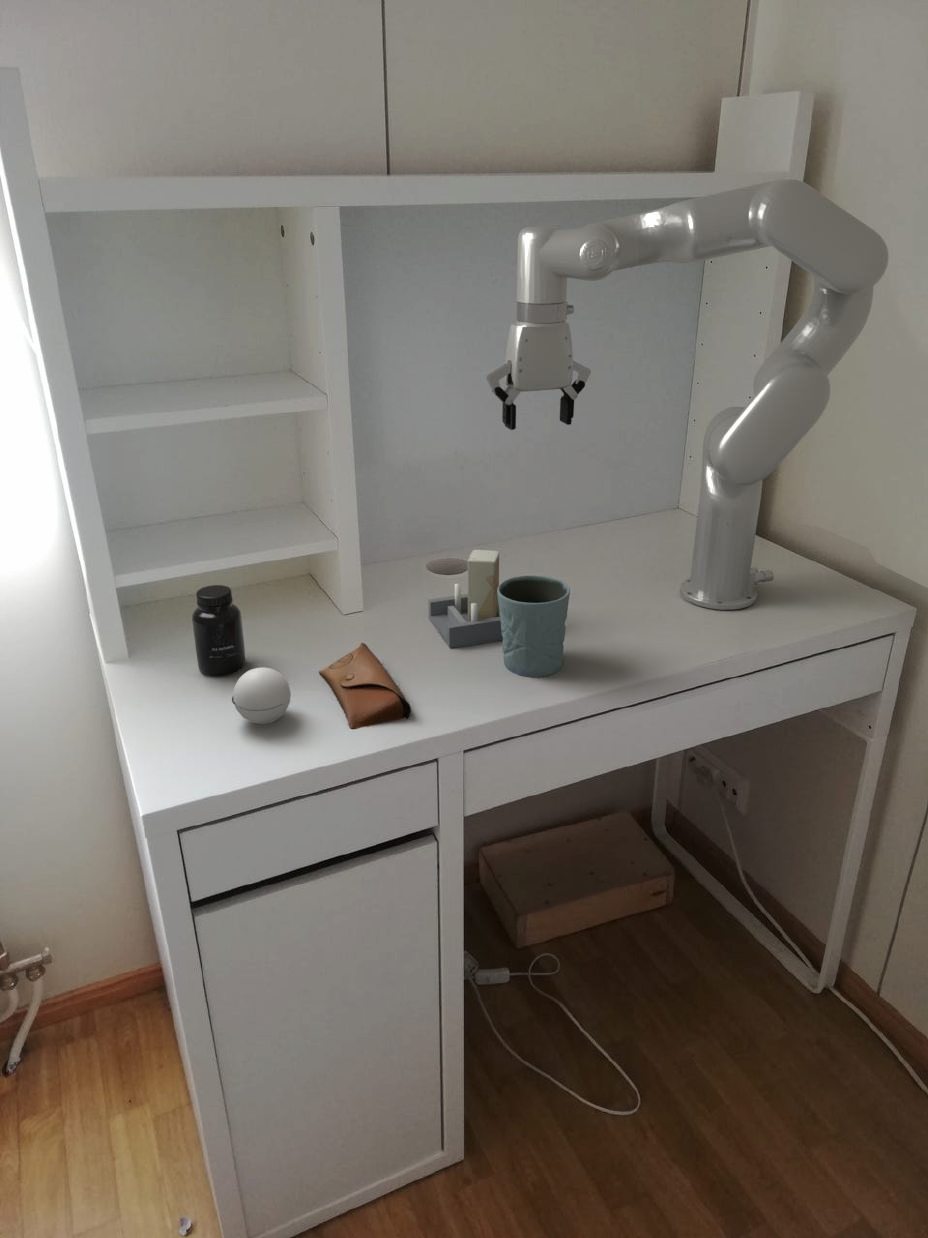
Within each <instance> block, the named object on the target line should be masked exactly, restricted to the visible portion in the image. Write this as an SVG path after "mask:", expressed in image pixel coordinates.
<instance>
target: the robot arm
mask: <svg viewBox="0 0 928 1238" xmlns="http://www.w3.org/2000/svg"><path fill="white" fill-rule="evenodd" d="M768 247H773V248H774V249H775V250H776V251H778V252H779V253H781V254H782V255H783V256H785V257H786V258H787V259H789V260H790V261H792V262H793V263H795V264H796V265H797V266H799V268H801V269H803V270H805V271H806V272H808V273H809V274H811V276H812V278H813V283H814V286H813V293H812V297H811V300H810V302H809V304H808V306H807V308H806V310H805V311H804V312H803V314H802V315H801V316H800V317H799V319H798V321H797V322H796V323H795V325H794V326H793V328H791V330H790V331H789V332H788V333H787V335H786V336H784V338H783V340H782V341H781V342H780V343H779V344H778V345H777V347H776V348H775V349H774V351H772V352H771V353H770V354H769V356H768V357H767V358H766V359H765V360H764V361H763V363H762V364H761V365H760V366H759V367H758V369H757V371H756V372H755V375H754V378H753V384H752V387H753V388H752V389H753V393H754V396H753V397H752V398H751V399H750V401H749V402H748V403H747V404H746V406H745V407H744V406H731V407H727V408H724V409H723V410H720V411H719V412H717V414H715V415H714V416H713V417H712V419H711V420H709V423H708V425H707V426H706V429H705V432H704V436H703V443H702V444H703V445H702V457H701V459H702V461H701V480H700V489H699V498H698V499H699V500H698V505H697V515H696V516H697V517H696V526H695V535H694V543H693V553H692V560H691V571H690V577H689V578H686V579H684V580H683V581H682V582H681V583H680V585H679V593H680V595H681V597H682V598H683V599H684V600H686V601H687V602H689V603H691V604H694V605H696V606H699V607H701V608H707V609H712V610H721V611H722V610H723V611H728V610H729V611H731V610H733V611H734V610H739V609H744V608H747V607H750V606H752V605H753V604H754V603H756V600H757V596H758V595H757V593H758V592H757V590H756V588H755V586H756V585H758V584H759V583H767V582H772V581H773V580H774V578H775V574H774V573H775V572H773V570H771V569H766V570H760V571H759V569H758V568H757V567H752V560H753V555H754V546H755V541H756V532H757V527H758V526H757V525H758V518H759V511H760V507H761V506H760V505H761V499H762V489H763V480H765V479H766V478H767V477H768V476H769V475H770V474H771V473H772V472H774V470H775V469H777V468H778V466H780V464H782V462H783V461H784V459H786V458H787V456H788V455H790V453H791V452H792V451H793V449H794V448H796V447H797V445H798V444H799V443H800V442H801V441H802V439H803V438H804V437H806V435H807V434H808V432H810V431H811V429H812V428H813V427H814V426H815V425H816V423H817V422H818V421H819V419H821V418H820V417H821V416H823V413H824V412H825V409H826V408H827V405H828V403H829V400H830V395H831V383H830V379H829V375H830V374H831V372H832V371H833V370H834V369H835V367H836V366H837V365H838V364H839V362H840V361H841V360H842V358H843V357H844V356H845V355H846V353H847V352H848V351H849V350H850V348H851V347H852V345H853V344H854V343H855V341H856V340H857V339H858V338H859V336H860V334H861V333H862V331H863V329H864V328H865V326H866V324H867V321H868V318H869V316H870V312H871V309H872V304H873V297H874V289H875V288H874V287H875V285H877V283H879V281H881V279H882V278H883V276H884V275H885V273H886V270H887V267H888V264H889V249H888V246H887V244H886V241H885V240H884V239H883V237H882V236H881V234H879V233H878V232H877V231H875V229H873V228H872V227H870V226H868V225H867V224H866V223H864V222H862V221H861V220H859V219H858V218H856V217H855V216H854V215H852V214H851V213H849V212H848V211H846V210H845V209H843V208H842V207H840V206H839V205H838V204H836V203H835V202H834V201H832V200H830V199H829V198H828V197H826V196H825V195H823V194H822V193H821V192H819V191H818V190H817V189H815V188H814V187H813V186H811V185H810V184H807V183H806V182H804V181H802V180H798V179H791V178H790V179H776V180H770V181H766V182H761V183H757V184H753V185H749V186H748V185H747V186H744V187H740V188H735V189H731V190H726V191H722V192H717V193H712V194H708V195H707V194H706V195H704V196H699V197H695V198H694V197H693V198H689V199H685V200H682V201H677V202H674V203H672V204H669V205H666V206H664V207H660V208H656V209H652V210H649V211H647V210H646V211H643V212H639V213H634V214H630V215H625V216H621V217H616V218H611V219H607V220H604V221H599V222H594V223H590V224H587V225H584V226H583V227H577V228H576V227H575V228H564V227H561V226H554V225H553V226H552V225H551V226H549V225H546V226H545V225H544V226H543V225H539V226H538V225H537V226H536V225H535V226H527V227H524V228H522V229H521V230H520V231H519V234H518V236H517V262H516V263H517V268H516V269H517V270H516V271H517V272H516V273H517V274H516V288H517V289H516V320H515V322H512V323H510V327H509V333H508V337H507V344H506V351H505V361H504V364H503V365H501V366H500V367H499V368H497V369H495V370H493V371H492V372H491V373H489V374H487V375H486V381H487V383H488V384H489V387H490V388H491V391H492V393H493V394H494V395H495V397H497V398H498V399H499V400H500V402H501V403H502V413H501V414H502V416H501V418H502V419H501V421H502V423H503V425H504V426H505V428H507V429H509V430H510V431H514V430H515V429H516V428H517V421H516V420H517V404H514V401H515V400H516V399H517V398H518V396H519V395H520V393H521V392H537V391H538V392H539V391H540V392H541V391H548V390H549V391H550V390H551V391H553V390H560V392H561V393H562V394H563V395H562V396H560V401H559V422H562V423H564V424H565V425H567V426H571V425H572V419H573V418H574V414H575V413H574V412H575V400H576V399H578V395H579V394H580V393H581V391H583V390H584V388H585V386H586V383H587V382H588V379H589V377H590V376H591V373H592V370H591V369H590V368H589V367H586V366H585V365H582V364H580V363H578V362H577V361H575V360H574V358H573V357H574V355H573V354H574V353H573V340H572V334H571V328H570V323H569V322H568V321H566V320H567V319H568V315H572V314H574V311H575V308H574V305H573V304H569V303H568V301H567V291H568V278H569V279H576V280H582V281H590V282H595V281H597V282H598V281H601V280H603V279H605V278H608V277H609V276H610V275H611V274H613V272H616V271H621V270H625V269H630V268H635V267H640V266H647V265H651V264H661V263H674V264H688V263H695V262H702V261H706V260H711V259H716V258H721V257H726V256H730V255H735V254H740V253H746V252H750V251H754V250H759V249H764V248H768ZM573 371H575V372H576V373H577V374H578V375H577V379H576V380H575V381H573V376H574V374H573ZM503 378H504V384H505V385H506V387H505V389H503V388H502V387H501V384H500V380H501V379H503ZM572 382H573V383H572Z"/></svg>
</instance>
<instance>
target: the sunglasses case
mask: <svg viewBox="0 0 928 1238" xmlns="http://www.w3.org/2000/svg"><path fill="white" fill-rule="evenodd" d="M318 674H319V675H320V677H322V678H323V679H324V681H325V682H326V684H328V687H329V688H330V689H331V691H332V693H333V694H334V696H335V698H336V700H337V701H338V703H339V706H340V707H341V709H342V711H343V713H344V714H345V717H346V720H347V723H348V724H347V725H348V727H349V729H352V730H358V729H360V728H364V727H369V726H375V725H380V724H384V723H389V722H390V723H391V722H394V721H398V720H404V719H406V720H408V719H409V717H410V716H411V712H412V710H411V705H410V703H409V702H408V700H407V699H406V698H405V696H404V694H403V692H402V691H401V690H400V688H399V686H398V685H397V683H396V682H395V680H394V679H393V678H392V676H391V675H390V674H389V672H388V671H387V669H386V668H385V666H384V665H383V664H382V663H381V661H380V660H379V659H378V657H377V656H376V655H375V654H374V652H373V651H372V650H371V649H370V648H369V646H368V645H367V644H366V643H364V642H361V643H360V645H359V646H358V647H357V648H355V649H354V650H352V651H351V652H348V653H347V654H346V655H344V656H342V657H341V658H339V659H338V660H336V661H335V662H333V663H331V664H329V665H328V666H327V667H326V668H324V669H321V670H319V671H318Z"/></svg>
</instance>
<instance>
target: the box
mask: <svg viewBox="0 0 928 1238" xmlns="http://www.w3.org/2000/svg"><path fill="white" fill-rule="evenodd" d="M499 585H500V551H498V550H486V549H484V550H483V549H473V550H472V551H471V553H470V555H469V557H468V558H467V594H468V621H471V603H477V604H478V620H481V619H488V618H495V617H498V615H499V603H498V594H497V589H498V587H499Z"/></svg>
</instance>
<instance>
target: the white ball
mask: <svg viewBox="0 0 928 1238" xmlns="http://www.w3.org/2000/svg"><path fill="white" fill-rule="evenodd" d="M232 694H233V695H232V697H231V701H232V703H233V705H234V707H235V709H236V711H237V712H238V713H239V714H240V715H241V717H242V718H243V719H245V720H247V721H249V722H250V723H252V724H257V725H263V724H264V725H265V724H270V723H274V722H275V721H277V720H278V719H280V718H281V717H282V716H283V715H284V714H285V713H286V712H287V709H288V708H289V704H290V703H291V696H292V695H291V694H292V693H291V689H290V685H289V682H288V681H287V679H286V678H285V677H284V675H282V674H281V673H280V672H279V671H278V670H275V669H273V668H270V667H255V668H251V669H249V670H247V671H246V672H245V673H243V674H242V675H241V676H240V677H239V678H238V679H237V681H236V683H235V685H234V688H233V693H232Z"/></svg>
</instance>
